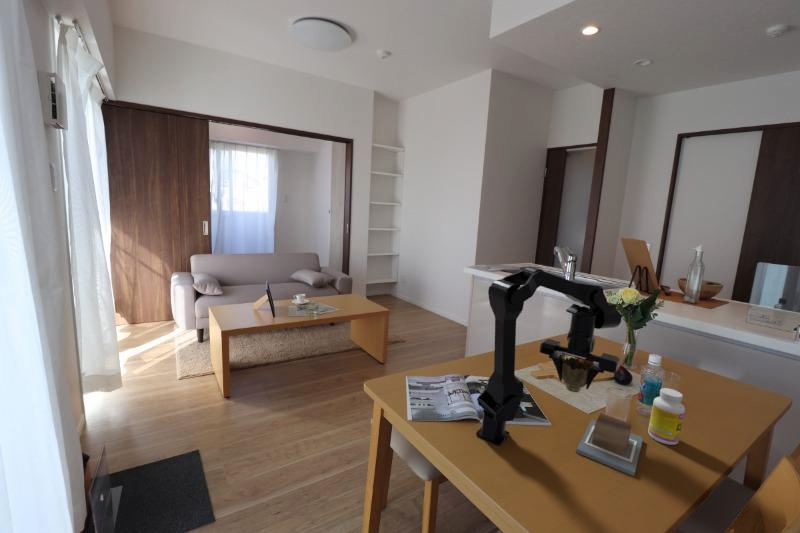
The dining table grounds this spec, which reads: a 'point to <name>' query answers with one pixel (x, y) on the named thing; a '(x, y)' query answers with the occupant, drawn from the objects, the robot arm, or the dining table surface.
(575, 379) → the cup
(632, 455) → the slate board
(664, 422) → the supplement bottle
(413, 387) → the dining table surface
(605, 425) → the walnut block
